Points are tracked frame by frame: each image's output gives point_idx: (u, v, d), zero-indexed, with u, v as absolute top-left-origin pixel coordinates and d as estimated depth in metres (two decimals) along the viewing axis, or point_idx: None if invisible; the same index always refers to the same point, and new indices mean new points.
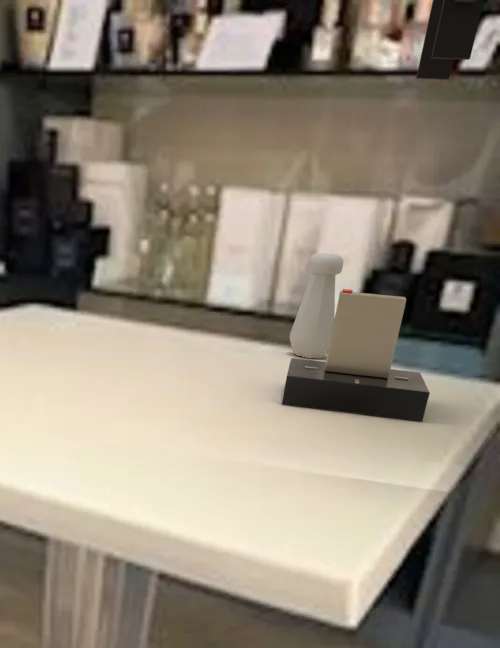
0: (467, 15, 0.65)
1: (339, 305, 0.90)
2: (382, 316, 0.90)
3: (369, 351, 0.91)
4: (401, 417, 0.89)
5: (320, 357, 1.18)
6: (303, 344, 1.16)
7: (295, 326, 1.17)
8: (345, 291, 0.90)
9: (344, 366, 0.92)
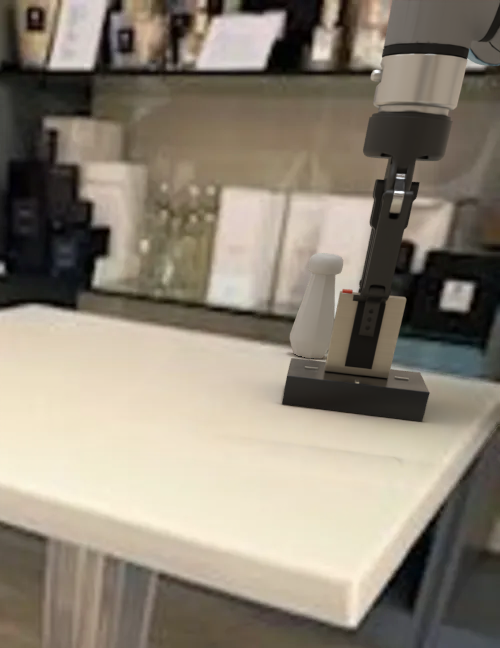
0: (368, 341, 0.90)
1: (339, 305, 0.90)
2: None
3: None
4: (401, 417, 0.89)
5: (320, 357, 1.18)
6: (303, 344, 1.16)
7: (295, 326, 1.17)
8: (345, 291, 0.90)
9: (344, 366, 0.92)
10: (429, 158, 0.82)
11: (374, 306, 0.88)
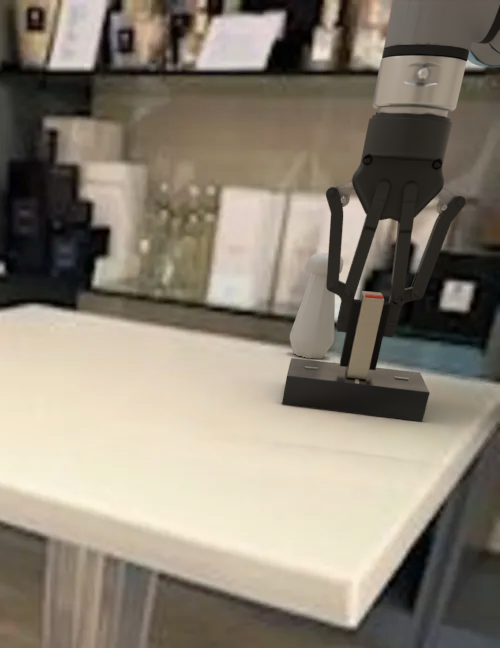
0: None
1: (381, 311, 0.87)
2: None
3: None
4: (401, 417, 0.89)
5: (320, 357, 1.18)
6: (303, 344, 1.16)
7: (295, 326, 1.17)
8: (382, 296, 0.87)
9: None
10: None
11: None
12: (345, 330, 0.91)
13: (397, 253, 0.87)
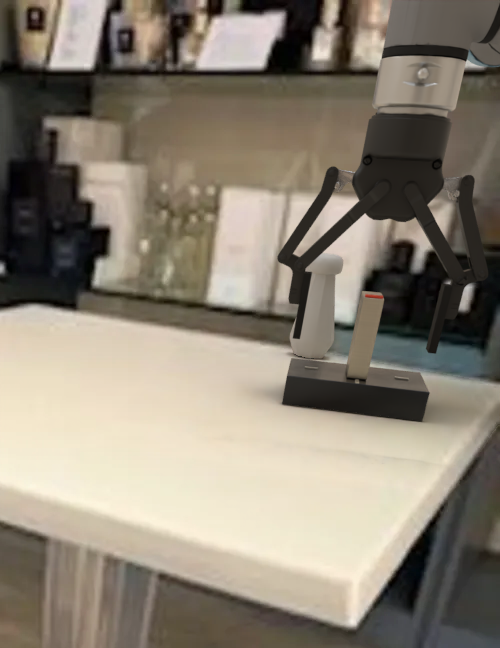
0: None
1: (381, 311, 0.87)
2: None
3: None
4: (401, 417, 0.89)
5: (320, 357, 1.18)
6: (303, 344, 1.16)
7: None
8: None
9: None
10: None
11: None
12: (297, 302, 0.91)
13: (434, 244, 0.85)
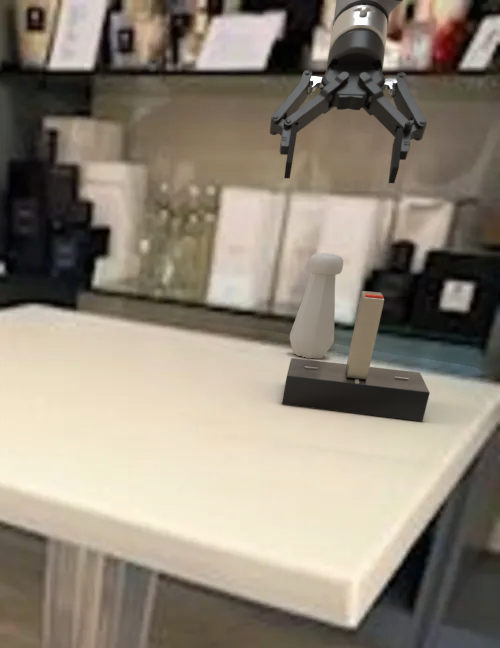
0: None
1: (381, 311, 0.87)
2: None
3: None
4: (401, 417, 0.89)
5: (320, 357, 1.18)
6: (303, 344, 1.16)
7: (295, 326, 1.17)
8: None
9: None
10: None
11: None
12: (287, 145, 1.18)
13: (385, 107, 1.17)
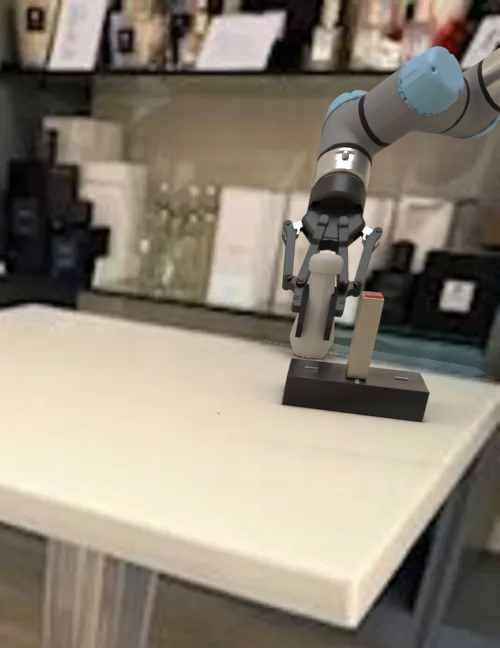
0: None
1: (381, 311, 0.87)
2: None
3: None
4: (401, 417, 0.89)
5: (320, 357, 1.18)
6: (303, 344, 1.16)
7: (295, 326, 1.17)
8: None
9: None
10: None
11: (346, 296, 1.16)
12: (299, 304, 1.15)
13: None
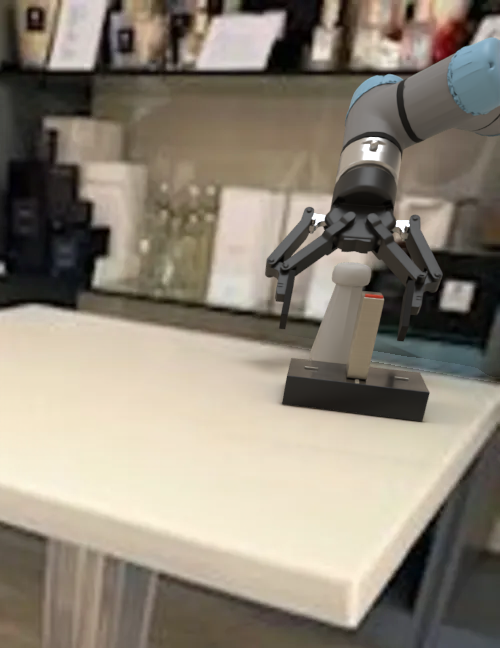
0: None
1: (381, 311, 0.87)
2: None
3: None
4: (401, 417, 0.89)
5: None
6: None
7: (317, 343, 1.05)
8: None
9: None
10: None
11: None
12: (283, 293, 1.05)
13: (395, 255, 1.04)
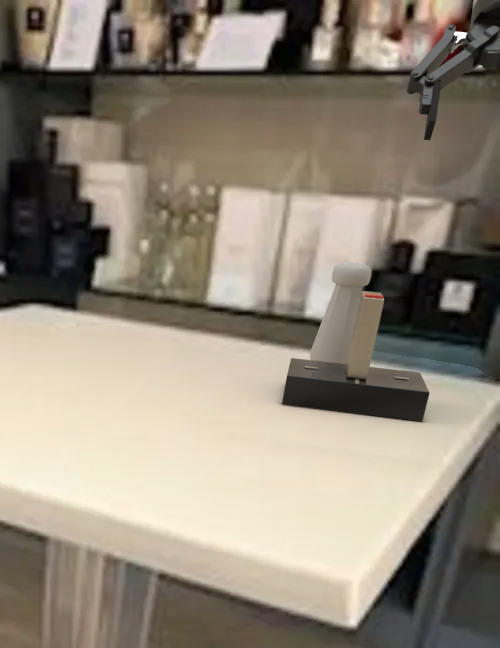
0: None
1: (381, 311, 0.87)
2: None
3: None
4: (401, 417, 0.89)
5: None
6: None
7: (316, 343, 1.05)
8: None
9: None
10: None
11: None
12: (429, 103, 1.07)
13: None
